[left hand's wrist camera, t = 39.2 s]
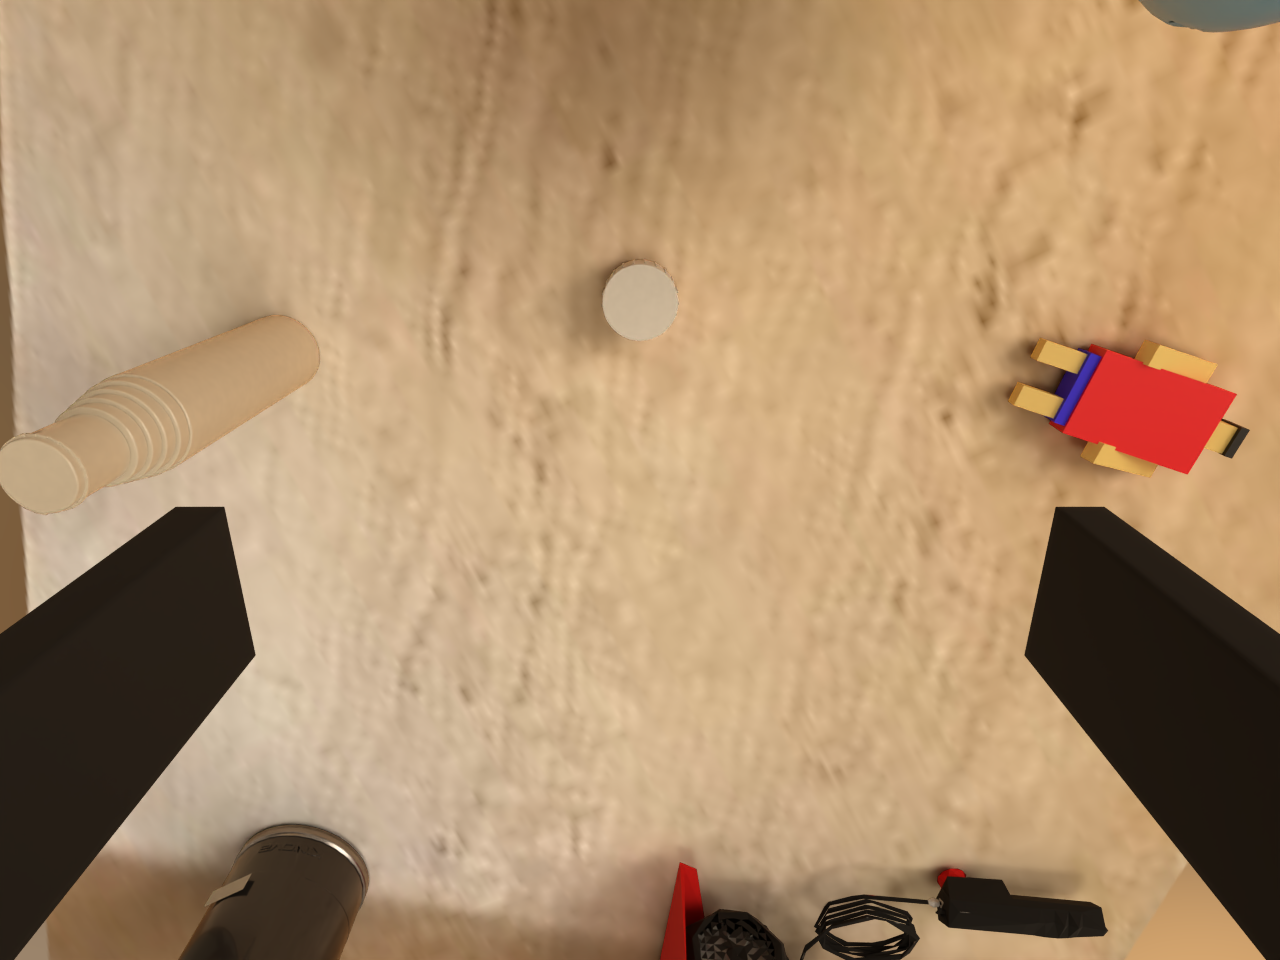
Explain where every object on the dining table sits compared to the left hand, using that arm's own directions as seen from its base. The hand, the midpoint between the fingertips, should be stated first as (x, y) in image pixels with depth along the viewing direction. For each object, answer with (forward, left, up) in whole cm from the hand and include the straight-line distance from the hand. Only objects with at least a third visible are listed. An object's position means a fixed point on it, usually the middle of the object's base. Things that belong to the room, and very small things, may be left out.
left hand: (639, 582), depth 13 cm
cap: (0, 0, -29) cm, 30 cm away
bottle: (+10, -17, -31) cm, 37 cm away
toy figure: (-4, +27, -31) cm, 42 cm away
